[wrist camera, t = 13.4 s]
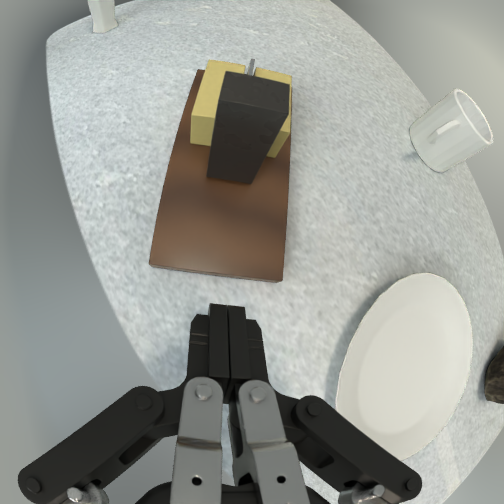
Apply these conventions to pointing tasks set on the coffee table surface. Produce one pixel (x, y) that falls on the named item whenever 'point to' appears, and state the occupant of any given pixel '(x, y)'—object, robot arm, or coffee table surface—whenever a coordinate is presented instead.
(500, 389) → the rock
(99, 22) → the white faceted vase
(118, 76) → the coffee table surface
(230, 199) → the slicer board
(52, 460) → the robot arm
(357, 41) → the coffee table surface
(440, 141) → the mug
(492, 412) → the coffee table surface
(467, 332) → the plate
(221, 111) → the knife
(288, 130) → the butter
